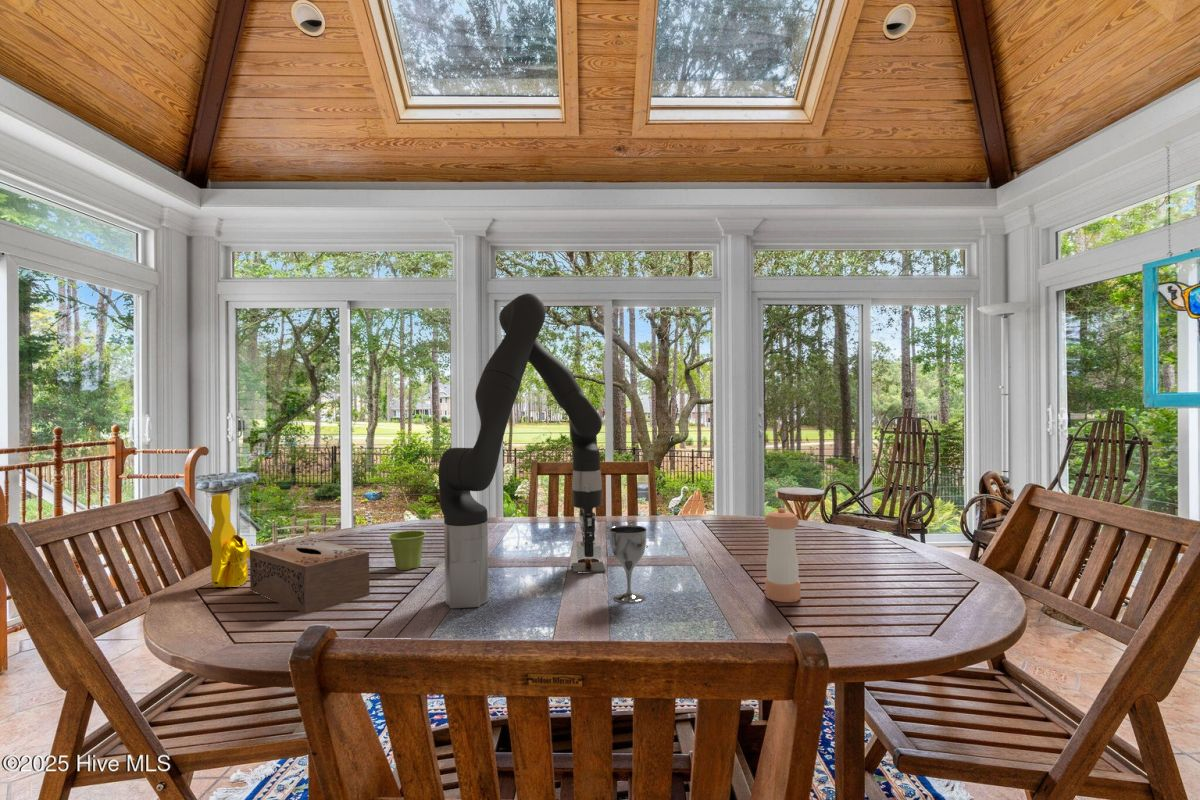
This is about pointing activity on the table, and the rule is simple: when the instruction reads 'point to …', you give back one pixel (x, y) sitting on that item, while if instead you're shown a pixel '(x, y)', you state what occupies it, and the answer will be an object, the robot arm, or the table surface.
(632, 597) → the wine glass
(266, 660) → the table surface
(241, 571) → the figure statuette
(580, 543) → the grey square block
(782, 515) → the pepper shaker
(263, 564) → the tissue box cover
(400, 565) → the plant pot
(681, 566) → the table surface
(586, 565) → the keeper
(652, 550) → the table surface
